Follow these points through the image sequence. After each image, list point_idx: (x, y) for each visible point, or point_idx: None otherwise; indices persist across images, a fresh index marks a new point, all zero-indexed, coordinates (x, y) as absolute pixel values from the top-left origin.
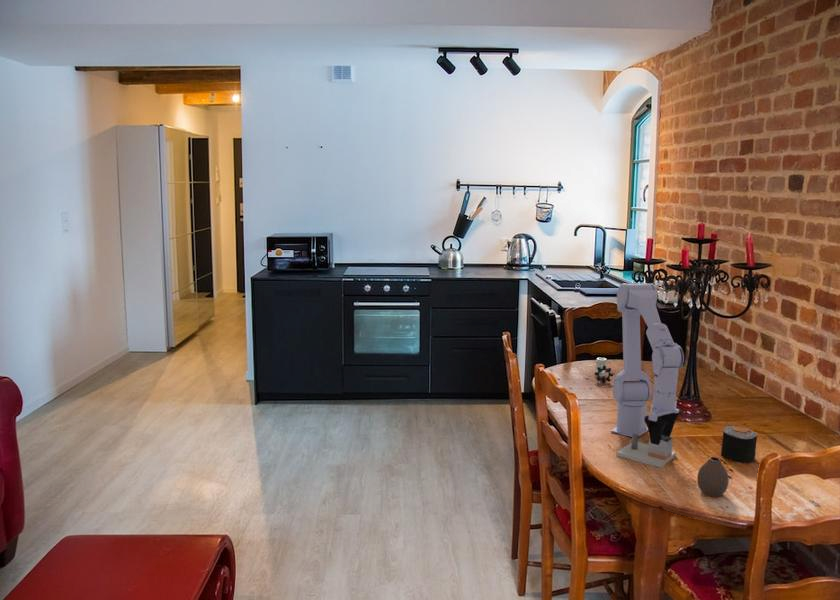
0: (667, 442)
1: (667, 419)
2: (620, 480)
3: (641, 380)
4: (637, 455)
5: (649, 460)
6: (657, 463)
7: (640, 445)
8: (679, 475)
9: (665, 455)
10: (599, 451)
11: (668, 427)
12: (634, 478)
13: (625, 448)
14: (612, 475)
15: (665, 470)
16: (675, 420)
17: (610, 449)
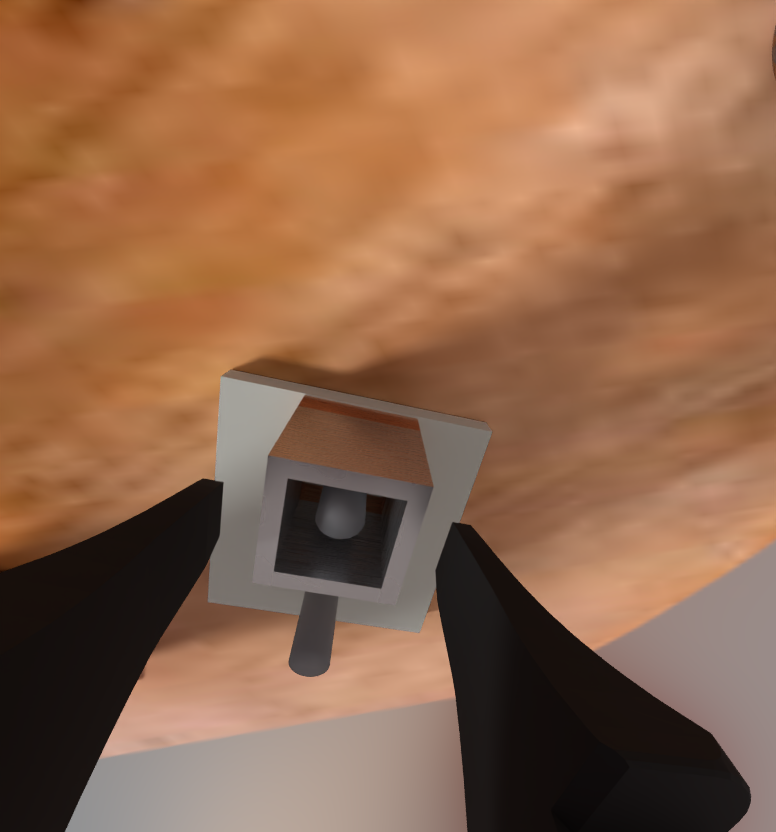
0: (409, 477)
1: (110, 658)
2: (719, 554)
3: None
4: (417, 554)
5: (461, 493)
6: (485, 449)
7: (253, 565)
8: (564, 302)
9: (417, 432)
10: (403, 673)
11: (172, 554)
12: (679, 509)
13: (346, 613)
14: (667, 589)
15: (513, 391)
16: (43, 570)
17: (352, 647)
